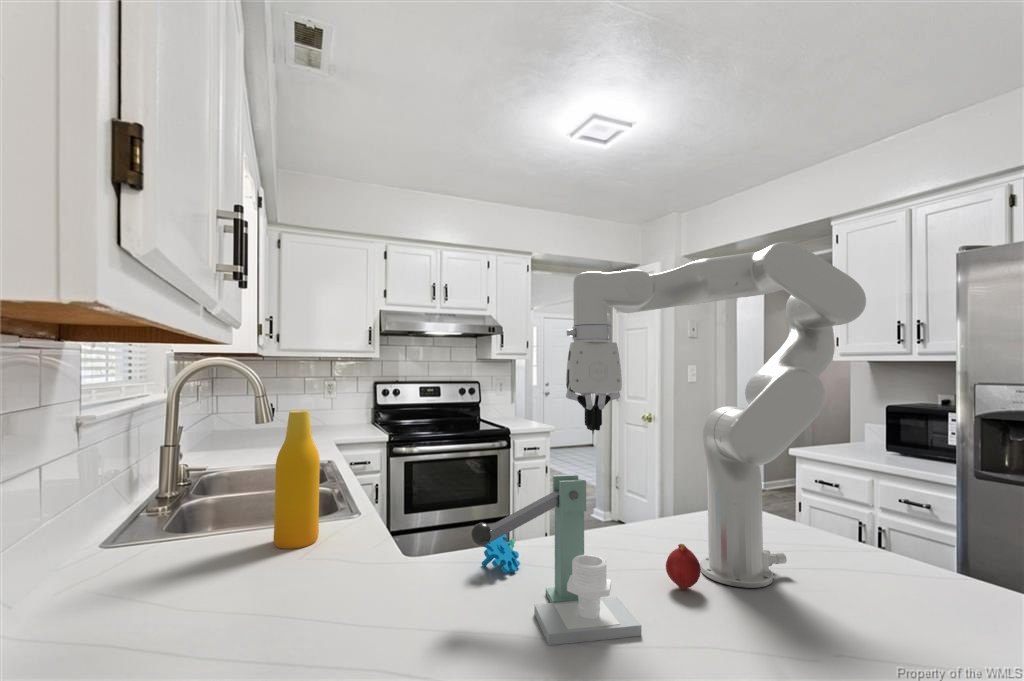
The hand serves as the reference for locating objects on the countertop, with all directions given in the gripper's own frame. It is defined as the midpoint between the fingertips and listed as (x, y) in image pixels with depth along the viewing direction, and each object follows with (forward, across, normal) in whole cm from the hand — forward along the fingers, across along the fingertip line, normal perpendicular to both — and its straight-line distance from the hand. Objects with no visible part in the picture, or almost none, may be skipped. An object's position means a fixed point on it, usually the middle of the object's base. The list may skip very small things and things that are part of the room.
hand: (593, 429), depth 97 cm
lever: (+14, -15, -10) cm, 22 cm away
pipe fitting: (+26, -8, -19) cm, 33 cm away
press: (+27, -8, -16) cm, 32 cm away
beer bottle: (+27, -60, +27) cm, 71 cm away
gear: (+27, -17, +5) cm, 33 cm away
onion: (+27, +13, -10) cm, 32 cm away
